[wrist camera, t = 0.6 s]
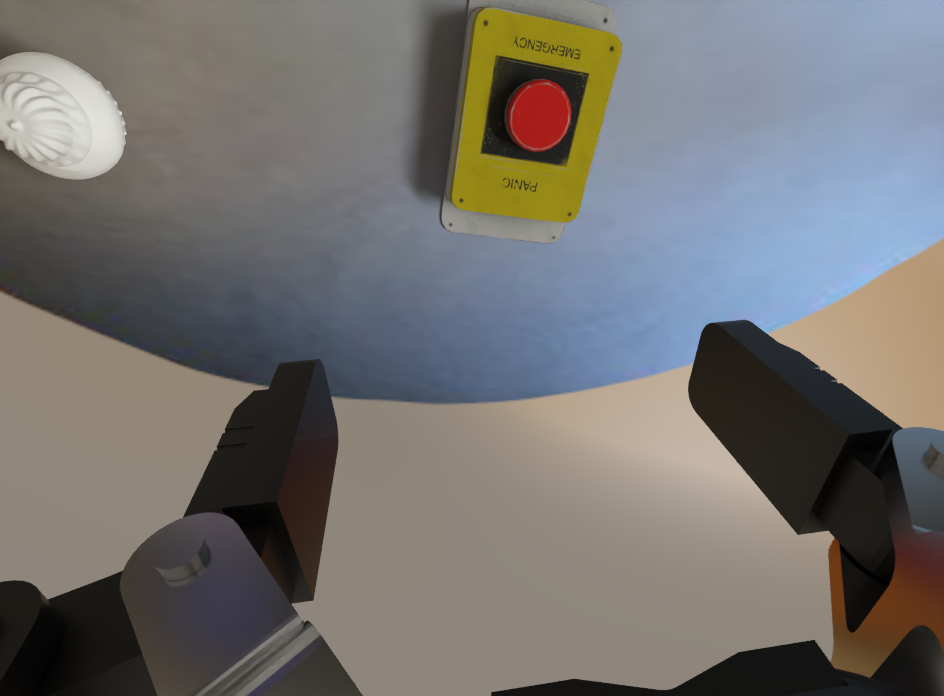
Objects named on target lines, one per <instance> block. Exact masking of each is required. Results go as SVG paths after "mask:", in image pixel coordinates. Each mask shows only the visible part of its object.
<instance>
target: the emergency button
mask: <svg viewBox="0 0 944 696" xmlns="http://www.w3.org/2000/svg"><path fill="white" fill-rule="evenodd" d="M615 24H616V19H615V16H614V13H613V10H611V9H610V8H609V7H607V6H605V5H600V4H596V3H592V2H587V1H583V0H469V4H468V12H467V20H466V28H465V35H464V43H463V51H462V59H461V66H460V74H459V82H458V90H457V97H456V105H455V113H454V121H453V129H452V136H451V144H450V152H449V160H448V167H447V175H446V183H445V191H444V198H443V206H442V214H441V216H442V223H443V225H444V226H445V228H446V229H447V230H449V231H451V232H456V233H464V234H472V235H480V236H489V237H497V238H505V239H513V240H522V241H530V242H538V243H546V244H549V243H554V242H556V241H557V240H558V239H559V238H560V237H561V235H562V233H563V231H564V227H565V223H570V222H571V221H573V220H574V219H576V217H577V215H578V213H579V210H580V206H581V202H582V198H583V195H584V191H585V187H586V184H587V180H588V176H589V172H590V169H591V165H592V161H593V157H594V154H595V150H596V146H597V143H598V139H599V135H600V131H601V128H602V124H603V120H604V116H605V113H606V109H607V105H608V101H609V98H610V94H611V90H612V87H613V83H614V79H615V75H616V72H617V68H618V64H619V60H620V57H621V53H622V43H621V41H620V39H619V37H618V36H616V35H614V33H615Z"/></svg>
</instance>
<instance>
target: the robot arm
mask: <svg viewBox="0 0 944 696" xmlns="http://www.w3.org/2000/svg"><path fill="white" fill-rule="evenodd" d="M688 392H689V398H690V402H691V404H692V407H693V408H694V410H695V412H696V413H697V414H698V415H699V416H700V418H701V419H702V420H703V421H704V422H705V423H706V425H707V426H708V427H709V428H710V430H711V431H712V432H713V433H714V434H715V436H716V437H717V438H718V439H719V440H720V442H721V443H722V444H723V445H724V446H725V448H726V449H727V450H728V451H729V452H730V454H731V455H732V456H733V457H734V458H735V460H736V461H737V462H738V463H739V464H740V465H741V467H742V468H743V469H744V470H745V471H746V473H747V474H748V475H749V476H750V478H751V479H752V480H753V481H754V482H755V484H756V485H757V486H758V487H759V488H760V490H761V491H762V492H763V493H764V494H765V496H766V497H767V498H768V499H769V500H770V502H771V503H772V504H773V505H774V507H775V508H776V509H777V510H778V511H779V512H780V514H781V515H782V516H783V517H784V519H785V520H786V521H787V522H788V523H789V525H790V526H791V527H792V528H793V529H794V531H795V532H796V533H797V534H798V535H800V534H807V533H814V532H822V531H829V532H830V533H831V534H832V535H833V536H834V537H835V538H834V540H833V541H832V543H831V545H830V547H829V552H828V558H829V573H830V590H831V606H832V623H833V639H834V644H833V645H834V646H833V654H832V659H831V662H830V661H829V660H828V659H827V657H826V656H825V654H824V653H823V652H822V650H821V649H820V647H819V646H818V644H817V643H816V642H815V640H811V641H805V642H799V643H792V644H786V645H780V646H774V647H768V648H762V649H755V650H750V651H743V652H738V653H737V654H735V655H733V656H731V657H729V658H728V659H726V660H724V661H722V662H720V663H719V664H717V665H715V666H713V667H711V668H710V669H708V670H706V671H704V672H703V673H701V674H699V675H697V676H695V677H694V678H692V679H690V680H688V681H687V682H685V683H683V684H682V685H679V686H678V687H676V688H673V689H670V690H655V689H648V688H640V687H632V686H625V685H617V684H610V683H602V682H595V681H587V680H579V679H571V680H564V681H558V682H552V683H546V684H540V685H534V686H527V687H521V688H515V689H509V690H503V691H497V692H492V693H491V696H944V431H941V430H936V429H931V428H923V427H911V428H905V429H903V428H902V427H900V426H899V425H898V424H896V423H895V422H893V421H892V420H891V419H889V418H888V417H887V416H885V415H884V414H883V413H881V412H880V411H879V410H877V409H876V408H874V407H873V406H872V405H870V404H869V403H868V402H866V401H865V400H864V399H862V398H861V397H860V396H858V395H857V394H855V393H854V392H853V391H852V390H850V389H849V388H847V387H846V386H845V385H843V384H842V383H839V384H838V383H837V379H835V378H834V377H832V376H831V375H830V374H828V373H827V372H826V371H824V370H822V371H821V370H820V367H819V366H818V365H816V364H815V363H814V362H812V361H811V360H809V359H808V358H807V357H805V356H804V355H803V354H801V353H800V352H798V351H795V350H793V349H791V348H789V347H787V346H785V345H783V344H780V343H778V342H777V341H776V340H774V339H773V338H772V337H770V336H769V335H768V334H766V333H765V332H764V331H762V330H761V329H760V328H758V327H757V326H756V325H754V324H753V323H752V322H750V321H748V320H737V321H726V322H716V323H709V324H707V325H706V326H705V327H704V329H703V331H702V333H701V337H700V341H699V345H698V349H697V352H696V356H695V360H694V364H693V368H692V372H691V376H690V380H689V386H688ZM337 451H338V428H337V421H336V416H335V412H334V408H333V404H332V399H331V395H330V391H329V387H328V383H327V378H326V374H325V370H324V367H323V364H322V362H321V360H320V359H316V360H305V361H295V362H284V363H280V364H279V365H278V367H277V370H276V372H275V375H274V377H273V380H272V382H271V385H270V387H269V389H267V390H257V391H253V392H252V393H251V394H250V395H249V396H248V397H247V398H246V399H245V400H244V401H243V402H242V403H240V404H239V405H238V406H237V407H236V408H235V409H234V411H233V413H232V415H231V418H230V420H229V422H228V424H227V426H226V428H225V433H223V434H222V436H221V439H220V441H219V443H218V445H217V450H216V451H214V454H213V455H212V458H211V460H210V462H209V464H208V466H207V468H206V470H205V472H204V474H203V477H202V479H201V481H200V483H199V485H198V487H197V489H196V491H195V493H194V496H193V497H192V500H191V502H190V504H189V506H188V508H187V510H186V512H185V514H184V516H183V518H182V519H179V520H177V521H174V522H172V523H170V524H169V525H166V526H165V527H163V528H162V529H160V530H158V531H157V532H156V533H155V534H153V535H152V536H150V537H149V538H148V539H147V540H146V541H145V542H144V543H142V544H141V545H140V546H139V547H138V549H137V550H136V551H135V552H134V553H133V554H132V556H131V557H130V559H129V560H128V562H127V564H126V566H125V568H124V570H123V571H121V572H118V573H116V574H114V575H111V576H109V577H106V578H104V579H101V580H98V581H96V582H93V583H91V584H88V585H85V586H83V587H80V588H77V589H75V590H72V591H70V592H67V593H64V594H62V595H59V596H56V597H54V598H51V599H48V600H47V599H46V597H45V596H44V595H43V594H42V593H41V592H40V591H39V590H38V588H37V587H36V586H34V585H33V584H31V583H29V582H25V581H15V580H13V581H4V582H0V696H363V695H362V694H361V693H360V691H359V690H358V688H357V687H356V685H355V684H354V682H353V681H352V679H351V678H350V677H349V675H348V674H347V672H346V671H345V669H344V668H343V666H342V665H341V663H340V662H339V661H338V659H337V658H336V656H335V655H334V653H333V652H332V650H331V649H330V647H329V646H328V645H327V643H326V642H325V640H324V639H323V637H322V636H321V635H320V633H319V632H318V631H317V629H316V628H315V627H314V626H313V625H312V624H311V623H310V622H309V621H306V622H304V621H303V620H302V619H301V617H300V616H299V615H298V613H297V612H296V610H295V609H294V607H293V606H292V603H298V602H305V601H313V599H314V593H315V587H316V581H317V574H318V569H319V562H320V556H321V550H322V543H323V538H324V532H325V525H326V519H327V512H328V507H329V501H330V495H331V488H332V482H333V476H334V470H335V464H336V458H337Z"/></svg>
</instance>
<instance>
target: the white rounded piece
mask: <svg viewBox="0 0 944 696" xmlns="http://www.w3.org/2000/svg"><path fill="white" fill-rule="evenodd" d="M121 115H122V112H121V111H120V110H119V109H118V104H117V102H116V101H114V99H113V97H112V96H111V94H110V92H109V91H107V90H105V88H104V87H103V85H102V84H101V82H99V81H97V80H95V79H94V78H93V77H92V76H91V75H90V74H89V73H87V72H85V71H84V70H83V69H81V68H80V67H78V66H76V65H75V64H73V63H71V62H69V61H67V60H65V59H62V58H60V57H57V56H54V55H51V54H46V53H40V52H23V53H17V54H13V55H10V56H7V57H5V58H3V59H1V60H0V140H2V141H3V142H4V144H5V148H6V149H7V150H12V151H13V152H14V153H15V154H16V155H17V156H19V157H20V158H21V159H22V160H23V161H25V162H26V163H28V164H29V165H31V166H32V167H34V168H36V169H38V170H40V171H42V172H44V173H47V174H50V175H53V176H56V177H60V178H66V179H76V180H79V179H88V178H93V177H96V176H99V175H101V174H103V173H105V172H107V171H108V170H110V169H111V168H112V167H113V166H114V165H115V164H116V163H117V162H118V161H119V159H120V158H121V156H122V153H123V149H124V144H126V142H125V136H124V135H126V134H127V133H126V130H125V126H124V125H125V121H124V119H123V117H122V116H121Z"/></svg>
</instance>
